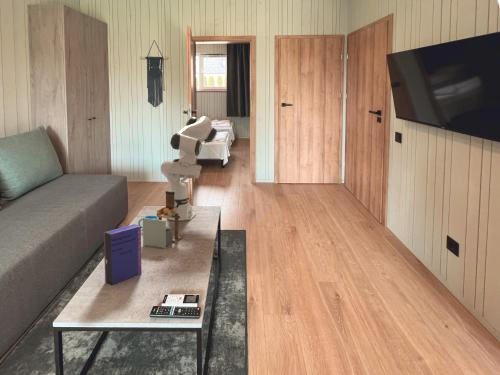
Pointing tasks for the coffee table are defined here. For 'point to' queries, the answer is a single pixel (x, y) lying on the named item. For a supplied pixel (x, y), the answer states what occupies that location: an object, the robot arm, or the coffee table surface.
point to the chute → (168, 206)
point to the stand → (176, 236)
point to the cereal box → (122, 253)
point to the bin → (156, 233)
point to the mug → (148, 218)
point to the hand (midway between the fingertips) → (179, 182)
